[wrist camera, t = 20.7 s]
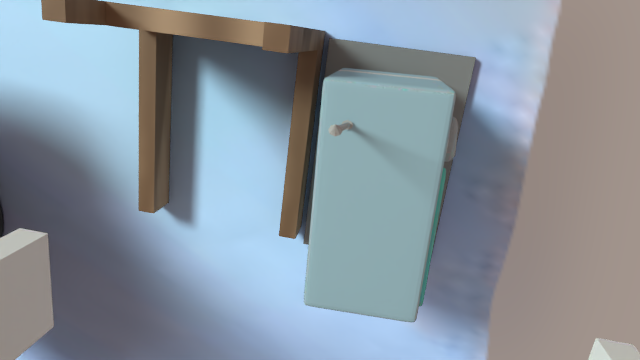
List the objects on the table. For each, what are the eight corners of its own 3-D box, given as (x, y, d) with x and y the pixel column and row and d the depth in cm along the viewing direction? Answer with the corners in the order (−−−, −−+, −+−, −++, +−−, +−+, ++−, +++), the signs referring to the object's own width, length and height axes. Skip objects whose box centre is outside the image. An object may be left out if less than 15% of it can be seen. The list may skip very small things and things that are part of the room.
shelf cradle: (154, 200, 45) (57, 265, 32) (157, 9, 40) (40, -8, 27) (301, 226, 44) (262, 305, 31) (325, 31, 38) (290, 25, 25)
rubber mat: (304, 241, 44) (303, 243, 44) (330, 38, 38) (329, 38, 38) (428, 263, 43) (429, 266, 42) (474, 57, 37) (475, 57, 37)
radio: (420, 251, 42) (446, 422, 23) (325, 237, 43) (274, 390, 24) (450, 77, 37) (513, 113, 18) (342, 66, 38) (295, 90, 19)
